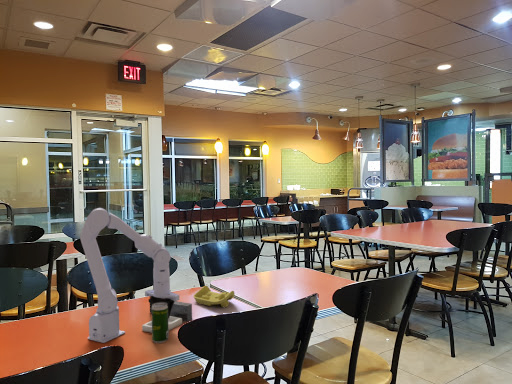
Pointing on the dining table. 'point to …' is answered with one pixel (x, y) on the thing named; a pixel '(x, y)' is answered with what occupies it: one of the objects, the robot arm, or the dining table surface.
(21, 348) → the dining table surface
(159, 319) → the beer can
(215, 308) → the dining table surface
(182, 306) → the block
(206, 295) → the plastic component
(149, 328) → the tray
